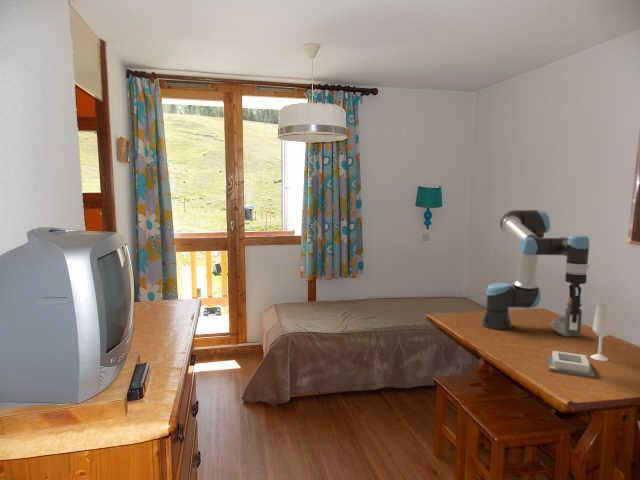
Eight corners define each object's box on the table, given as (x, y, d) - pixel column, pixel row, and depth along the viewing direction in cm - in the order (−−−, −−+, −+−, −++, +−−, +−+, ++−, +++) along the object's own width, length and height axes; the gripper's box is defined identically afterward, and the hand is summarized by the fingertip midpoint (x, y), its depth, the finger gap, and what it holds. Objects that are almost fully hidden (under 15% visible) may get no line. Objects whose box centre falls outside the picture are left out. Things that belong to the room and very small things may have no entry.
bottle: (574, 331, 180) (576, 297, 179) (583, 336, 175) (585, 300, 173) (561, 331, 180) (563, 297, 179) (569, 336, 174) (571, 300, 173)
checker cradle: (547, 357, 190) (547, 348, 189) (589, 363, 183) (589, 354, 183) (549, 370, 175) (549, 361, 175) (594, 378, 169) (595, 368, 168)
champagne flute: (600, 361, 185) (604, 308, 182) (586, 355, 191) (590, 304, 188) (612, 360, 187) (616, 307, 184) (598, 354, 193) (602, 303, 190)
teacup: (571, 331, 225) (572, 316, 224) (582, 338, 214) (583, 323, 213) (544, 330, 226) (545, 316, 225) (553, 337, 215) (554, 322, 214)
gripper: (590, 278, 164) (586, 335, 167) (583, 269, 181) (580, 322, 184) (568, 276, 168) (564, 332, 170) (563, 268, 185) (560, 320, 187)
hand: (572, 327), depth 177 cm, fingers closed on bottle, 6 cm apart
